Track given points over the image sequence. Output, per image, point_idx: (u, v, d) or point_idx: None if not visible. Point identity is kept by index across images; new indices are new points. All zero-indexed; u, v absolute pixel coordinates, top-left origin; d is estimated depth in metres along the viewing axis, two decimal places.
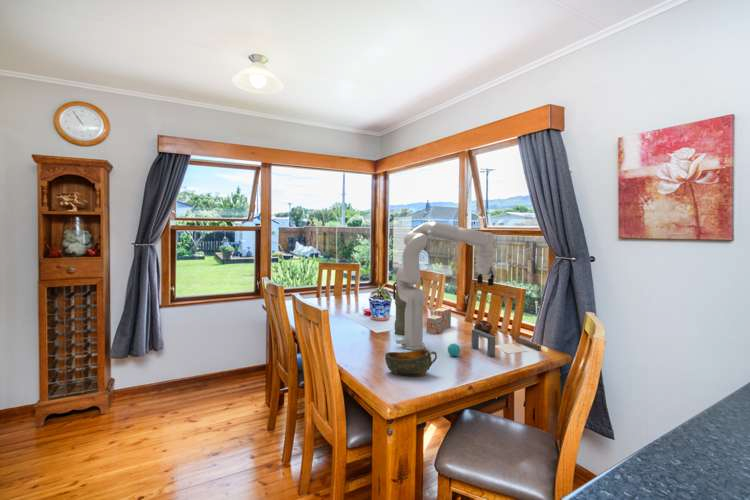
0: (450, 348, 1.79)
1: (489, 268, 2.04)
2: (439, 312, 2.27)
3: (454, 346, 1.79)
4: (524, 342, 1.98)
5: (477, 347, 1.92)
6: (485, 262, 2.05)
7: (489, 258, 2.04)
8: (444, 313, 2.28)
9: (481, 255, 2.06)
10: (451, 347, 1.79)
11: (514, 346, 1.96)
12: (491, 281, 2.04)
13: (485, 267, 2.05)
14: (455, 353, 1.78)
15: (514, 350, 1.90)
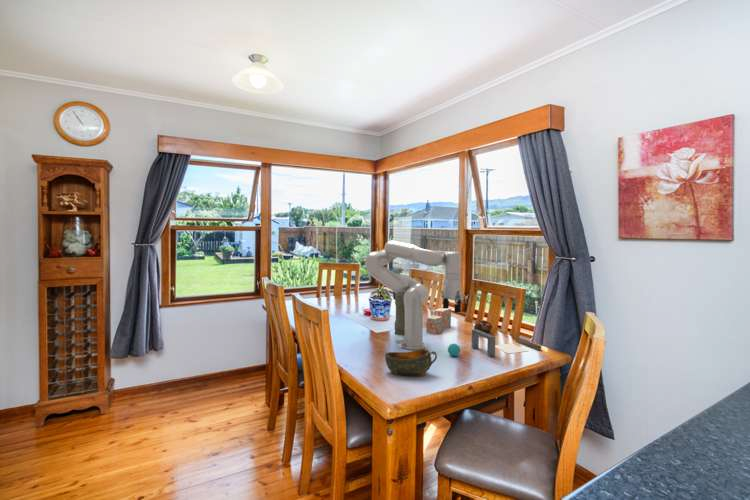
0: (450, 348, 1.79)
1: (456, 293, 1.80)
2: (439, 312, 2.27)
3: (454, 346, 1.79)
4: (524, 342, 1.98)
5: (477, 347, 1.92)
6: (452, 286, 1.81)
7: (456, 281, 1.80)
8: (444, 313, 2.28)
9: (447, 277, 1.82)
10: (451, 347, 1.79)
11: (514, 346, 1.96)
12: (458, 307, 1.80)
13: (452, 291, 1.81)
14: (455, 353, 1.78)
15: (514, 350, 1.90)
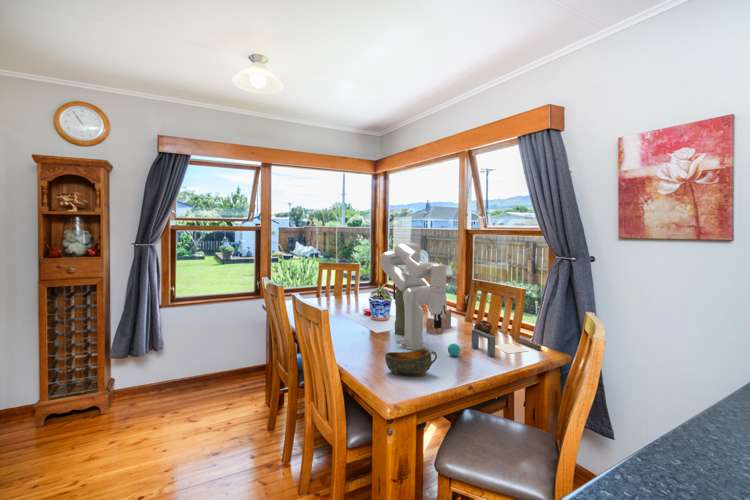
0: (450, 348, 1.79)
1: (440, 312, 1.72)
2: None
3: (454, 346, 1.79)
4: (524, 342, 1.98)
5: (477, 347, 1.92)
6: (436, 300, 1.72)
7: (441, 295, 1.71)
8: None
9: (432, 291, 1.74)
10: (451, 347, 1.79)
11: (514, 346, 1.96)
12: (438, 323, 1.75)
13: (436, 306, 1.72)
14: (455, 353, 1.78)
15: (514, 350, 1.90)
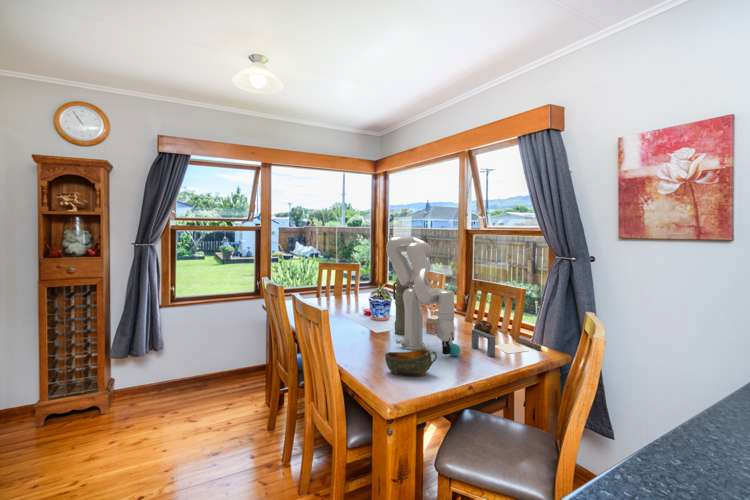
0: (450, 348, 1.79)
1: (448, 339, 1.74)
2: None
3: (454, 346, 1.79)
4: (524, 342, 1.98)
5: (477, 347, 1.92)
6: (444, 327, 1.74)
7: (449, 322, 1.74)
8: None
9: (440, 318, 1.76)
10: (451, 347, 1.79)
11: (514, 346, 1.96)
12: (447, 349, 1.77)
13: (444, 333, 1.74)
14: (455, 353, 1.78)
15: (514, 350, 1.90)
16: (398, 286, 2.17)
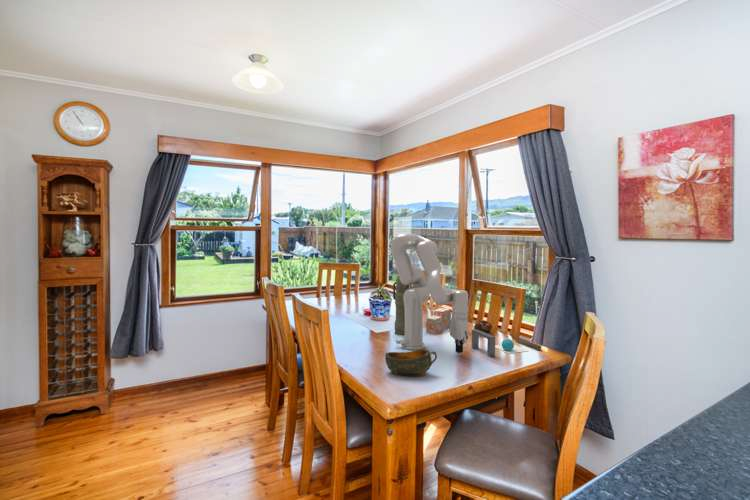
0: None
1: (462, 338, 1.77)
2: (439, 312, 2.26)
3: (508, 350, 1.88)
4: (524, 342, 1.98)
5: (477, 347, 1.92)
6: (458, 326, 1.77)
7: (463, 321, 1.77)
8: (444, 313, 2.27)
9: (454, 317, 1.79)
10: None
11: (514, 346, 1.96)
12: (460, 348, 1.80)
13: (458, 332, 1.77)
14: (512, 345, 1.87)
15: (514, 350, 1.90)
16: (398, 286, 2.17)
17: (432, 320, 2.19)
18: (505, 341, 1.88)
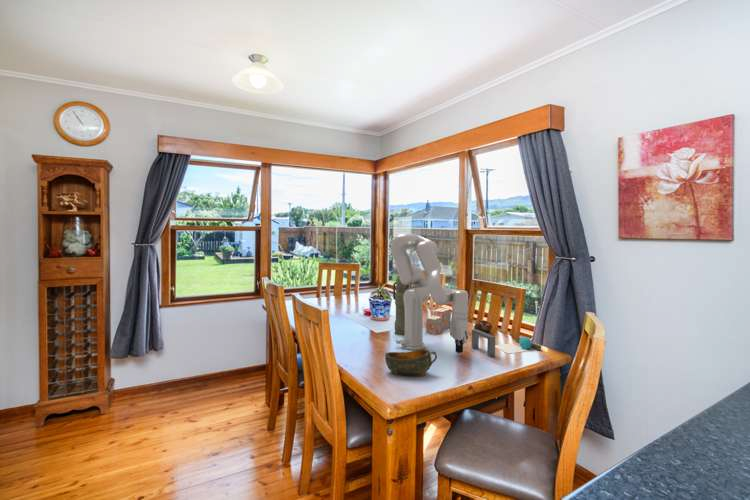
0: (526, 338, 1.91)
1: (462, 338, 1.77)
2: (439, 312, 2.26)
3: (530, 340, 1.91)
4: None
5: (477, 347, 1.92)
6: (458, 326, 1.77)
7: (463, 321, 1.77)
8: (444, 313, 2.27)
9: (454, 317, 1.79)
10: (527, 338, 1.91)
11: (514, 346, 1.96)
12: (460, 348, 1.80)
13: (458, 332, 1.77)
14: (527, 344, 1.90)
15: (514, 350, 1.90)
16: (398, 286, 2.17)
17: (432, 320, 2.19)
18: None
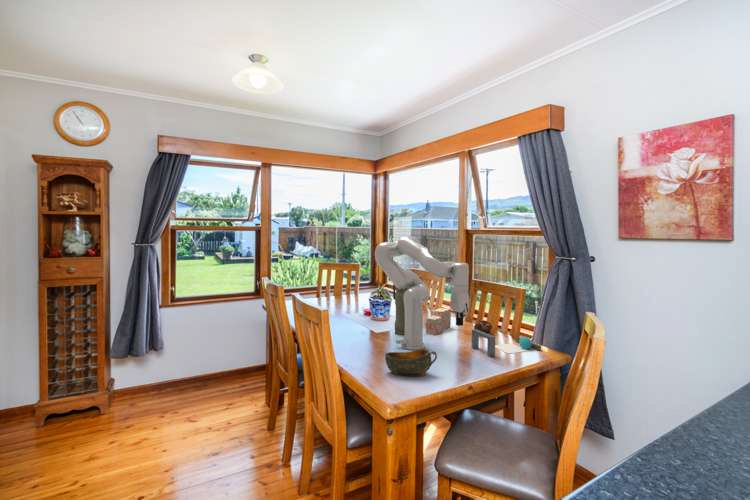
0: (526, 338, 1.91)
1: (463, 310, 1.76)
2: (439, 312, 2.26)
3: (530, 340, 1.91)
4: None
5: (477, 347, 1.92)
6: (459, 298, 1.77)
7: (464, 293, 1.76)
8: (444, 313, 2.27)
9: (455, 289, 1.78)
10: (527, 338, 1.91)
11: (514, 346, 1.96)
12: (460, 321, 1.80)
13: (459, 304, 1.77)
14: (527, 344, 1.90)
15: (514, 350, 1.90)
16: None
17: (432, 320, 2.18)
18: None
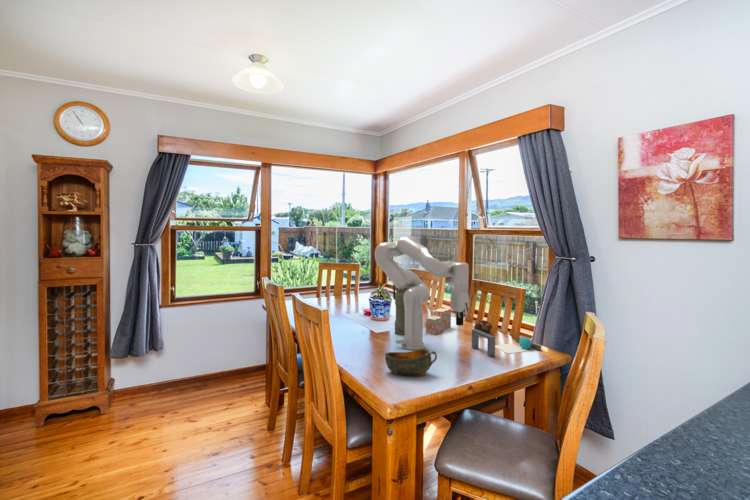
0: (526, 338, 1.91)
1: (463, 310, 1.76)
2: (439, 313, 2.25)
3: (530, 340, 1.91)
4: None
5: (477, 347, 1.92)
6: (459, 298, 1.77)
7: (464, 293, 1.76)
8: (444, 314, 2.27)
9: (455, 289, 1.78)
10: (527, 338, 1.91)
11: (514, 346, 1.96)
12: (460, 320, 1.80)
13: (459, 303, 1.77)
14: (527, 344, 1.90)
15: (514, 350, 1.90)
16: None
17: (432, 320, 2.18)
18: None
